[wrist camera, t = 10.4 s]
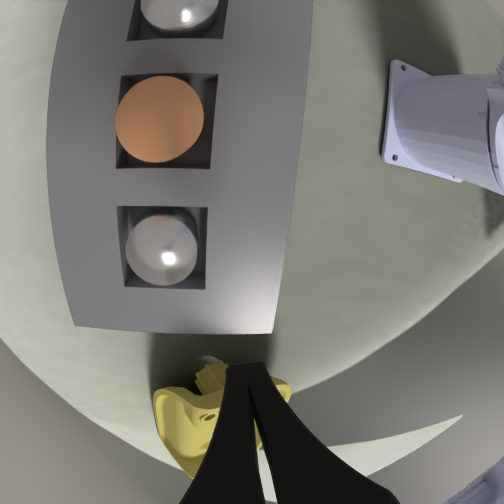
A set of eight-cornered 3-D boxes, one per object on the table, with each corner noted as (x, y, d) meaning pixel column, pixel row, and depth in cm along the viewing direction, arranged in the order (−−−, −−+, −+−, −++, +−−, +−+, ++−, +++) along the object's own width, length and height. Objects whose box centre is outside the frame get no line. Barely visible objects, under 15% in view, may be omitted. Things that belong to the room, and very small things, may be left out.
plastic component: (254, 455, 29) (184, 484, 23) (225, 414, 34) (158, 437, 28) (307, 367, 20) (185, 418, 14) (254, 310, 25) (145, 336, 19)
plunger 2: (199, 206, 16) (197, 218, 14) (197, 266, 18) (196, 286, 16) (133, 205, 16) (123, 217, 13) (137, 265, 17) (129, 284, 15)
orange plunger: (207, 84, 12) (207, 76, 10) (201, 157, 14) (199, 163, 12) (132, 85, 12) (118, 78, 10) (128, 157, 13) (114, 163, 11)
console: (301, -33, 11) (315, -52, 8) (264, 308, 21) (272, 333, 19) (101, -34, 8) (88, -51, 6) (87, 302, 19) (74, 325, 16)
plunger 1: (221, -11, 11) (223, -29, 8) (213, 41, 12) (214, 27, 10) (155, -10, 10) (148, -27, 8) (144, 42, 12) (134, 29, 9)
